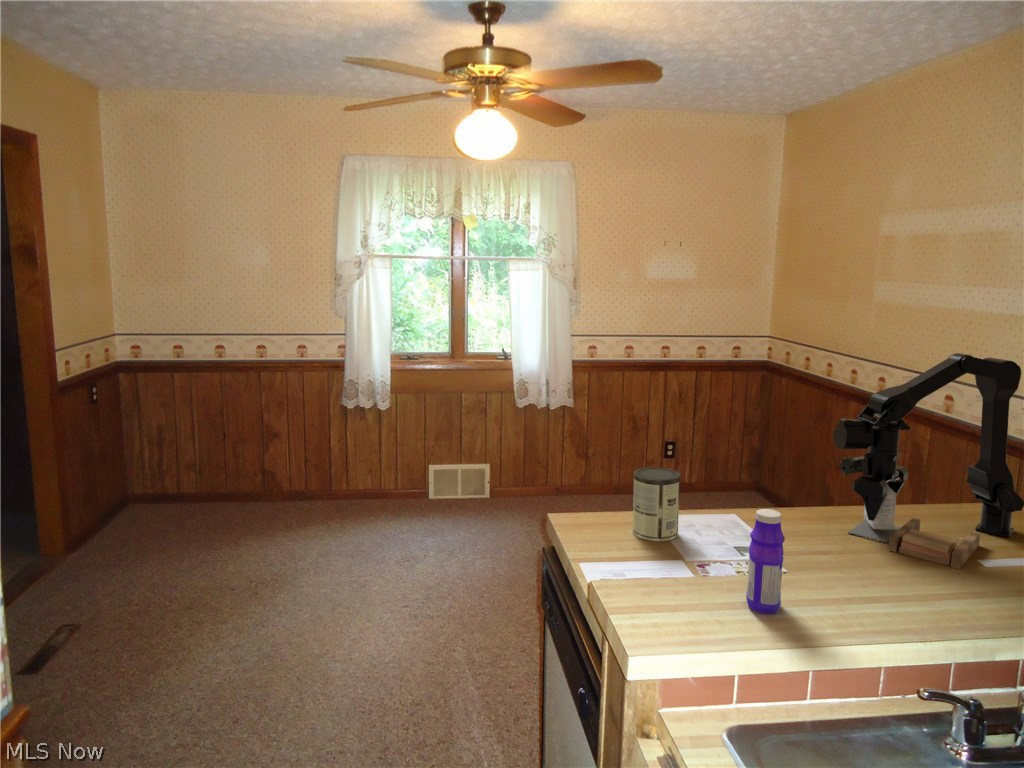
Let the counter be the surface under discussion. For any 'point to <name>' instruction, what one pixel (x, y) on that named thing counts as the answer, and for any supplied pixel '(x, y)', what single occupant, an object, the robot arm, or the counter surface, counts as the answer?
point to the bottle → (765, 563)
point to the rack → (957, 555)
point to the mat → (873, 532)
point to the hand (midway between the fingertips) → (877, 515)
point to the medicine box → (884, 513)
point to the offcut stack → (927, 547)
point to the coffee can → (656, 504)
